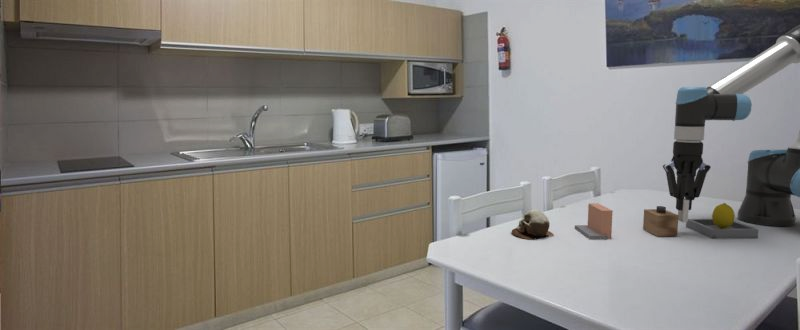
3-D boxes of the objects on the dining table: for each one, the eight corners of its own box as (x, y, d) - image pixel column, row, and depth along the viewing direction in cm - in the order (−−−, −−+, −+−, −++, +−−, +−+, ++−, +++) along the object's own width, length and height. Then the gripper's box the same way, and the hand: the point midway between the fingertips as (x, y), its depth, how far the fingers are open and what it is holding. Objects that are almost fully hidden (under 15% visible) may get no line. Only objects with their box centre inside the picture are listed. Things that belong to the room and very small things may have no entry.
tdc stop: (595, 228, 155) (597, 202, 154) (612, 239, 143) (614, 211, 142) (574, 228, 155) (575, 202, 154) (589, 239, 143) (591, 211, 142)
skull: (500, 229, 151) (518, 202, 153) (520, 248, 155) (537, 221, 157) (528, 238, 140) (547, 208, 143) (548, 258, 144) (566, 229, 147)
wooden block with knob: (662, 228, 153) (664, 204, 152) (677, 235, 145) (679, 209, 144) (643, 228, 153) (644, 204, 152) (656, 235, 145) (658, 210, 144)
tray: (727, 226, 156) (728, 218, 156) (757, 238, 143) (758, 229, 143) (685, 226, 156) (686, 218, 156) (712, 238, 143) (712, 229, 143)
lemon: (736, 232, 146) (739, 205, 145) (715, 231, 147) (718, 204, 146) (728, 227, 151) (730, 201, 150) (707, 226, 152) (710, 200, 151)
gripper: (703, 139, 150) (697, 217, 153) (659, 140, 149) (654, 218, 153) (719, 142, 142) (712, 224, 145) (673, 142, 142) (667, 224, 145)
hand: (682, 220), depth 149 cm, fingers closed
